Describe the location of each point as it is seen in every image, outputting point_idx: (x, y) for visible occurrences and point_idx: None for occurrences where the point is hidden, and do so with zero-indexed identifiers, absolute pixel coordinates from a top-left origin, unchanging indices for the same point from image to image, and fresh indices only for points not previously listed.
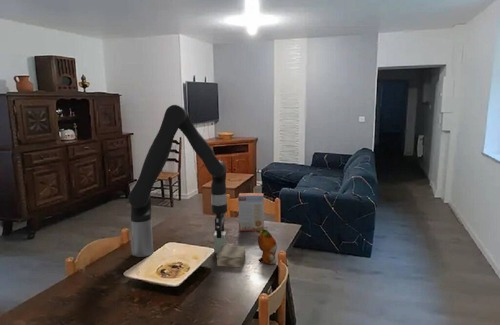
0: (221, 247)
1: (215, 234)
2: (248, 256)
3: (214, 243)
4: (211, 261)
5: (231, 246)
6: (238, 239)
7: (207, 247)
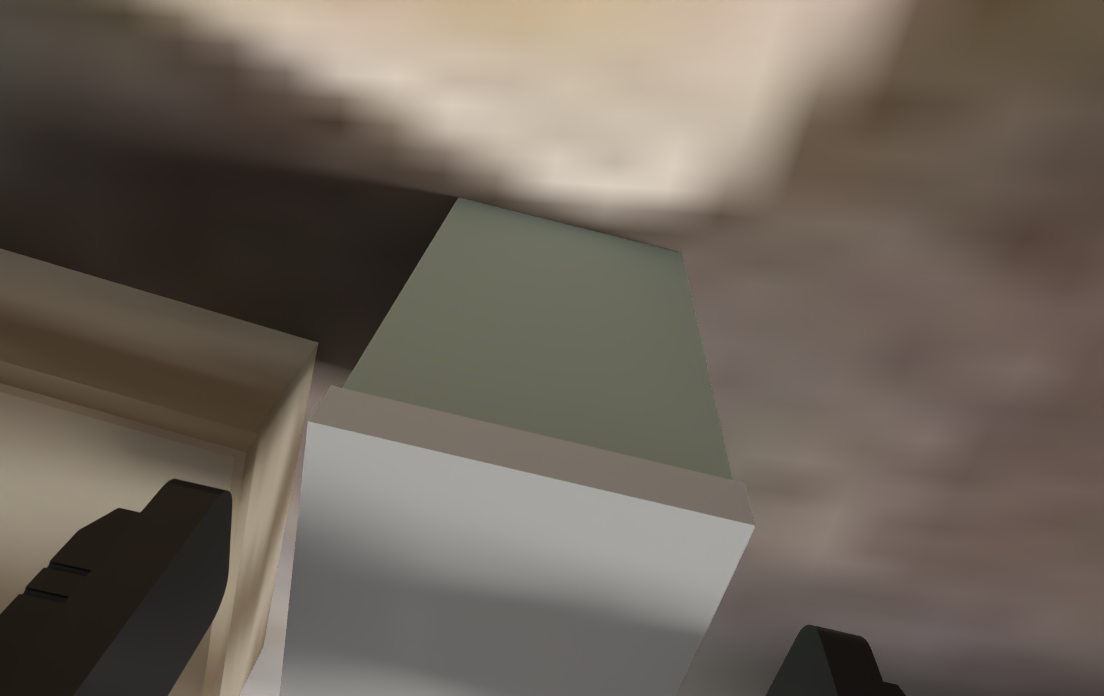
0: (140, 431)
1: (376, 486)
2: (267, 680)
3: (402, 289)
4: (19, 101)
5: (215, 618)
6: (1003, 670)
7: (818, 42)
